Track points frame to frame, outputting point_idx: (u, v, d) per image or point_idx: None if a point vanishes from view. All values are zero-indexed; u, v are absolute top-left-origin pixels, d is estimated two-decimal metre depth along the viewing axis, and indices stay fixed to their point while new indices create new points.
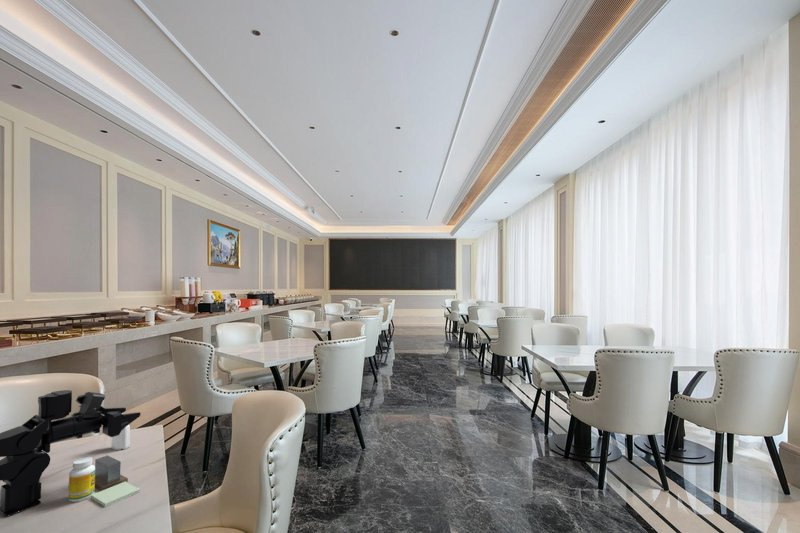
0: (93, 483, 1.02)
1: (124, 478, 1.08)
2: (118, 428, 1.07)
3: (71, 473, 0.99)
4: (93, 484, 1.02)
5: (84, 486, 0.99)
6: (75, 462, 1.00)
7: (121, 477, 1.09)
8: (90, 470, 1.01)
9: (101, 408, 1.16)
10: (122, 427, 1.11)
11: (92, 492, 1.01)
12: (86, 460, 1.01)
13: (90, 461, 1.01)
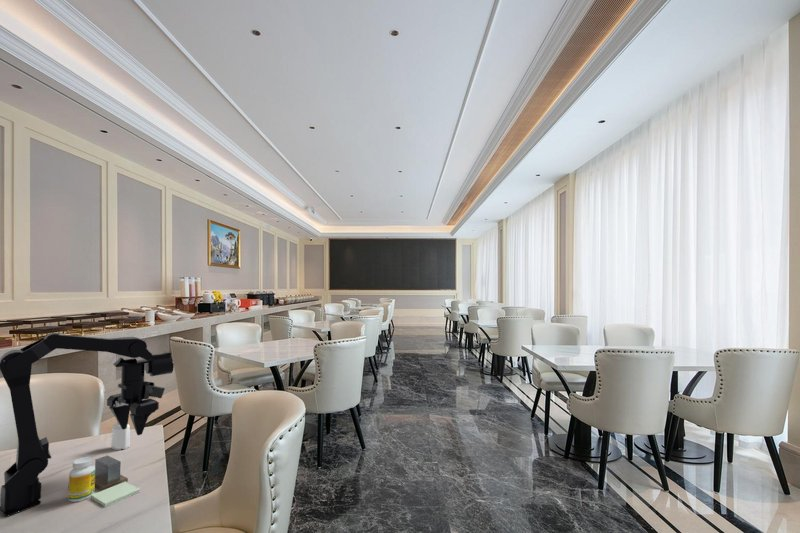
0: (93, 483, 1.02)
1: (124, 478, 1.08)
2: (144, 411, 1.09)
3: (71, 473, 0.99)
4: (93, 484, 1.02)
5: (84, 486, 0.99)
6: (75, 462, 1.00)
7: (121, 477, 1.09)
8: (90, 470, 1.01)
9: None
10: (135, 418, 1.09)
11: (92, 492, 1.01)
12: (86, 460, 1.01)
13: (90, 461, 1.01)
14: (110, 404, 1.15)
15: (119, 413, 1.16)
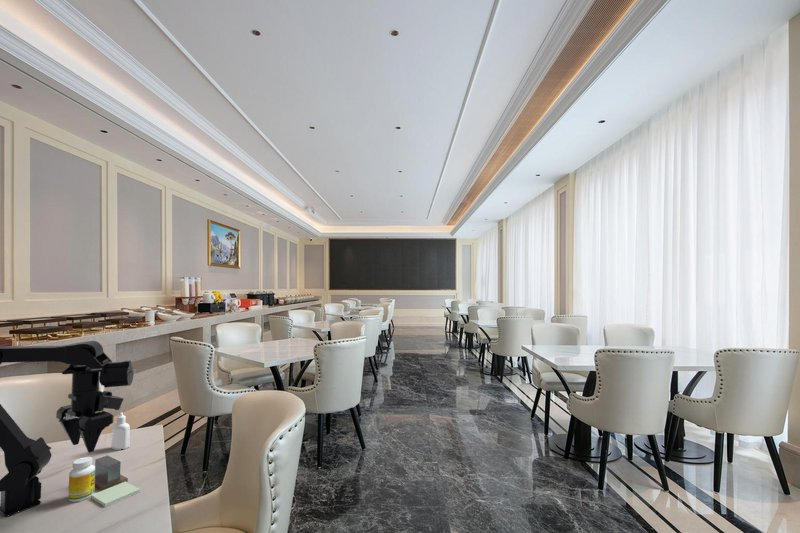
0: (93, 483, 1.02)
1: (124, 478, 1.08)
2: (95, 426, 0.96)
3: (71, 473, 0.99)
4: (93, 484, 1.02)
5: (84, 486, 0.99)
6: (75, 462, 1.00)
7: (121, 477, 1.09)
8: (90, 470, 1.01)
9: None
10: (85, 434, 0.97)
11: (92, 492, 1.01)
12: (86, 460, 1.01)
13: (90, 461, 1.01)
14: (59, 417, 1.03)
15: (70, 427, 1.03)
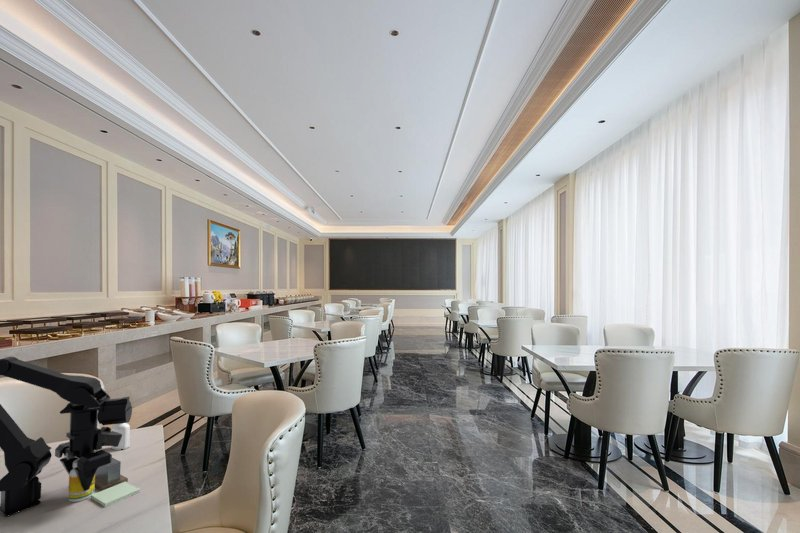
0: (93, 483, 1.02)
1: (124, 478, 1.08)
2: (93, 467, 0.96)
3: (71, 473, 0.99)
4: (93, 484, 1.02)
5: None
6: (75, 462, 1.00)
7: (121, 477, 1.09)
8: None
9: None
10: (81, 473, 0.97)
11: (92, 492, 1.01)
12: None
13: None
14: (58, 455, 1.02)
15: (71, 467, 1.02)
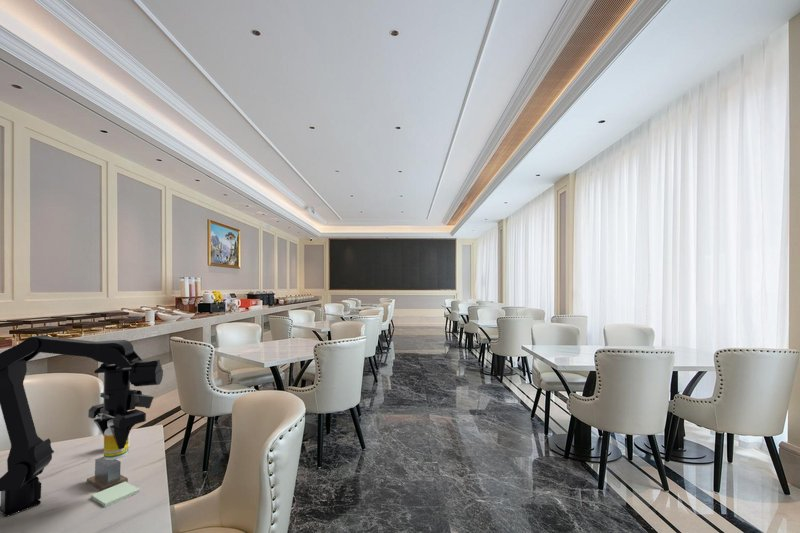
0: (128, 443, 1.03)
1: (124, 478, 1.08)
2: (129, 424, 0.97)
3: (106, 432, 1.00)
4: (127, 443, 1.03)
5: None
6: (110, 421, 1.01)
7: (121, 477, 1.09)
8: None
9: None
10: (116, 431, 0.98)
11: (126, 451, 1.02)
12: None
13: None
14: (92, 416, 1.03)
15: (105, 427, 1.03)
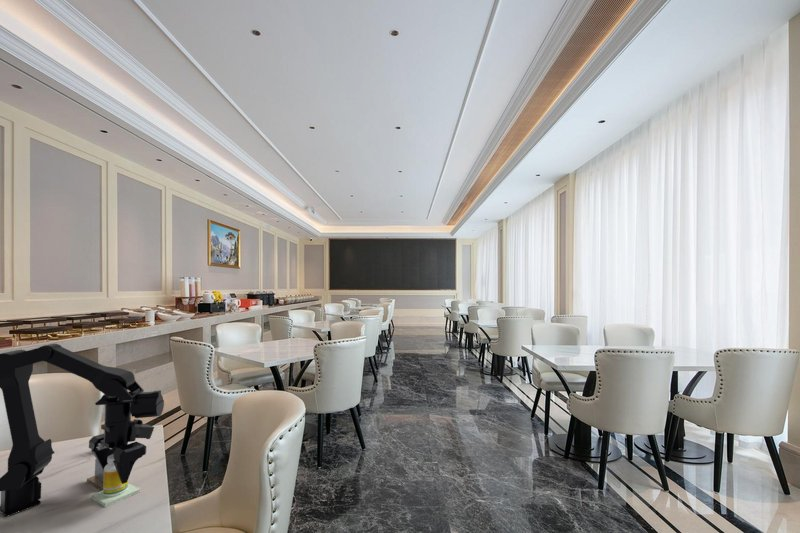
0: None
1: None
2: (129, 458, 0.96)
3: (106, 468, 1.00)
4: None
5: (119, 481, 1.00)
6: (110, 457, 1.01)
7: None
8: None
9: None
10: (119, 466, 0.97)
11: (126, 487, 1.02)
12: None
13: None
14: (92, 447, 1.03)
15: (102, 457, 1.03)
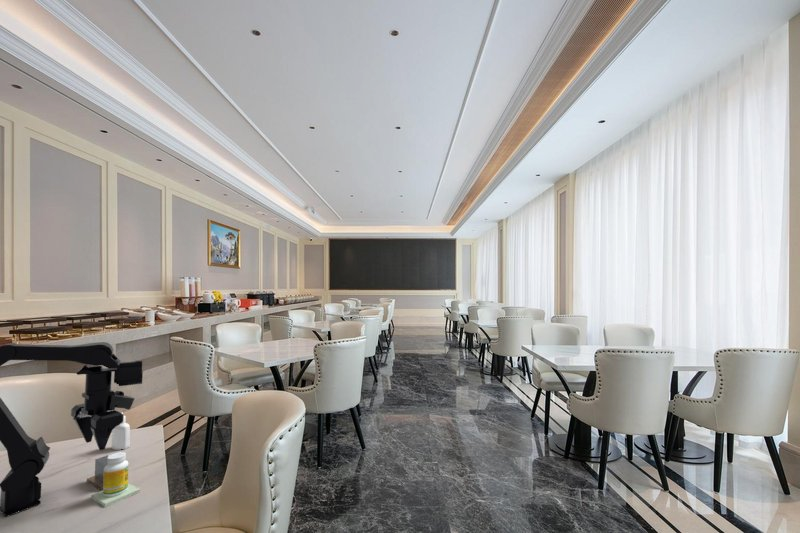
0: (127, 478, 1.03)
1: None
2: (106, 425, 1.00)
3: (106, 468, 1.00)
4: (127, 479, 1.02)
5: (119, 481, 1.00)
6: (109, 457, 1.01)
7: None
8: (124, 465, 1.01)
9: None
10: (97, 432, 1.00)
11: (126, 487, 1.02)
12: (120, 455, 1.02)
13: (124, 456, 1.02)
14: (74, 415, 1.06)
15: (83, 425, 1.07)
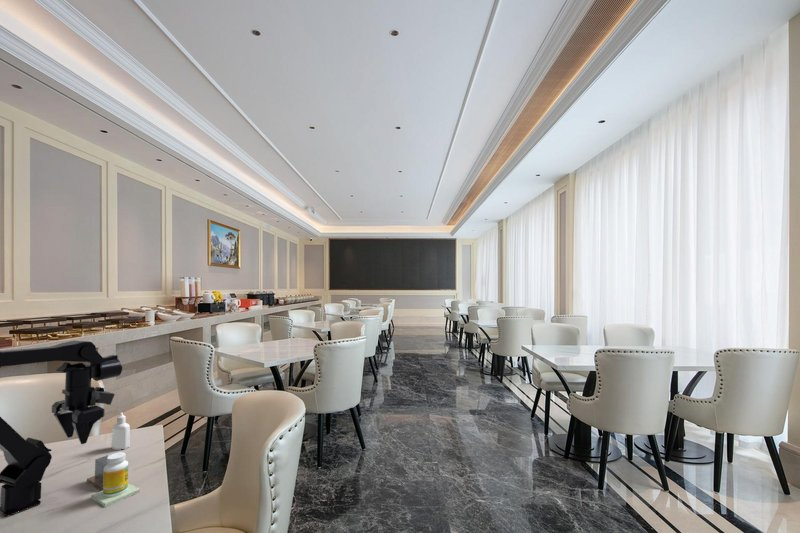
0: (127, 478, 1.03)
1: None
2: (87, 419, 1.03)
3: (106, 468, 1.00)
4: (127, 479, 1.02)
5: (119, 481, 1.00)
6: (109, 457, 1.01)
7: None
8: (123, 465, 1.01)
9: None
10: (78, 427, 1.04)
11: (126, 487, 1.02)
12: (120, 455, 1.02)
13: (124, 456, 1.02)
14: (54, 411, 1.09)
15: (64, 421, 1.10)
